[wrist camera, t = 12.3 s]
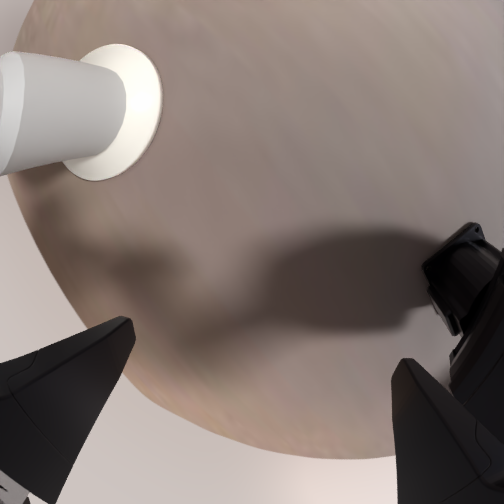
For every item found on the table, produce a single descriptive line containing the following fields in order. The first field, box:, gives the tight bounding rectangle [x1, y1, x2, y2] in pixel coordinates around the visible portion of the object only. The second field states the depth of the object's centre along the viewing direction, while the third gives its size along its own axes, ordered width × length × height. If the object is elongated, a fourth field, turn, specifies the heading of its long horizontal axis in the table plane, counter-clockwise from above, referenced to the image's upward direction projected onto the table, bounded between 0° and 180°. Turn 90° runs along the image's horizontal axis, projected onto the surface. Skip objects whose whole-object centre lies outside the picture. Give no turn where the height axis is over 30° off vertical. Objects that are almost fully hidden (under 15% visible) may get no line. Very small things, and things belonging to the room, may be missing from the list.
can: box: [0, 51, 127, 176], centre depth 12 cm, size 8×8×12 cm
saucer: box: [62, 44, 163, 181], centre depth 18 cm, size 12×12×1 cm
